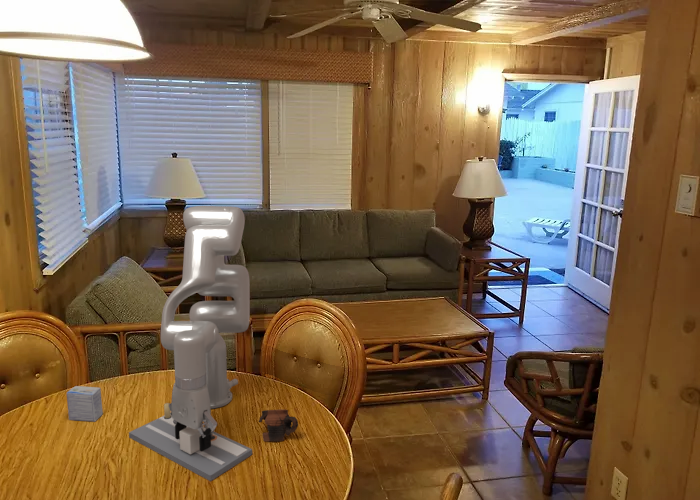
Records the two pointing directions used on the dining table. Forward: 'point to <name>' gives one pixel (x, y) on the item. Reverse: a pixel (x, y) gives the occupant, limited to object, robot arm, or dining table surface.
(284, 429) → the pottery mug
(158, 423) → the gauge board
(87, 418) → the medicine box
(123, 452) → the dining table surface
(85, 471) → the dining table surface
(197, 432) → the white block with pointer
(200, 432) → the robot arm
